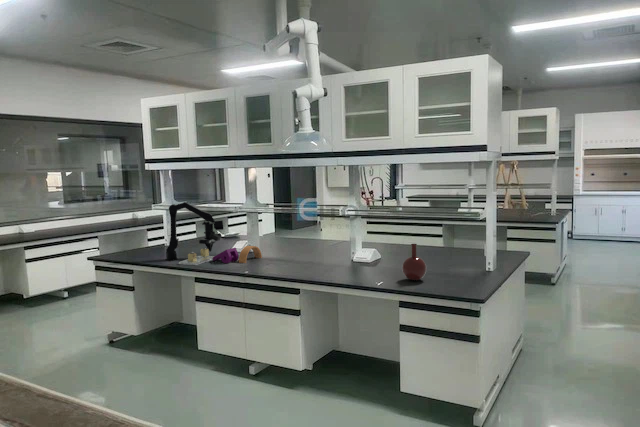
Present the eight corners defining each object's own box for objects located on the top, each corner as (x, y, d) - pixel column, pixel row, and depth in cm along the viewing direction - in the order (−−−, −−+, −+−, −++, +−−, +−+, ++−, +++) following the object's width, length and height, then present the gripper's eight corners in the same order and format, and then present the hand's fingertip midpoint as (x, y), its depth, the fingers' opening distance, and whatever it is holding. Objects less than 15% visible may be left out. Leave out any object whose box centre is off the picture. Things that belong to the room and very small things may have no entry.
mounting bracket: (213, 270, 328) (231, 261, 319) (209, 259, 329) (226, 249, 320) (223, 267, 336) (240, 258, 327) (218, 256, 337) (235, 247, 328)
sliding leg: (200, 256, 338) (200, 248, 338) (204, 255, 342) (203, 247, 341) (205, 256, 337) (205, 248, 336) (208, 255, 341) (208, 247, 340)
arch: (262, 257, 338) (261, 244, 337) (245, 263, 320) (244, 248, 319) (255, 257, 340) (254, 243, 339) (238, 262, 323) (237, 248, 322)
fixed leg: (188, 261, 324) (187, 252, 324) (191, 260, 328) (191, 251, 328) (193, 261, 323) (192, 252, 322) (196, 260, 327) (196, 251, 326)
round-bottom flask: (399, 282, 256) (399, 245, 254) (405, 276, 268) (404, 241, 266) (423, 283, 250) (423, 246, 248) (428, 278, 262) (428, 242, 260)
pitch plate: (178, 264, 323) (178, 261, 322) (199, 257, 345) (199, 255, 345) (196, 265, 318) (195, 262, 318) (215, 258, 340) (215, 255, 340)
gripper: (211, 232, 333) (212, 254, 334) (225, 228, 350) (226, 249, 352) (198, 232, 337) (199, 253, 338) (212, 228, 354) (213, 249, 356)
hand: (210, 251), depth 346 cm, fingers closed
